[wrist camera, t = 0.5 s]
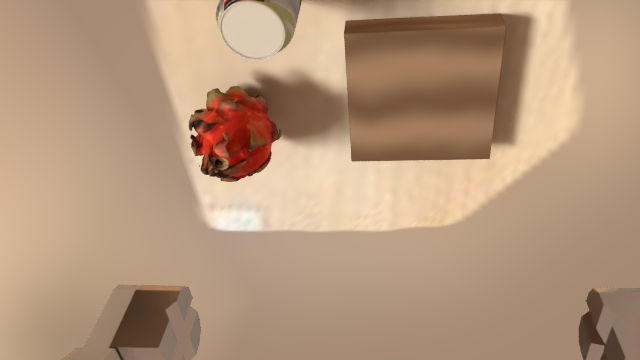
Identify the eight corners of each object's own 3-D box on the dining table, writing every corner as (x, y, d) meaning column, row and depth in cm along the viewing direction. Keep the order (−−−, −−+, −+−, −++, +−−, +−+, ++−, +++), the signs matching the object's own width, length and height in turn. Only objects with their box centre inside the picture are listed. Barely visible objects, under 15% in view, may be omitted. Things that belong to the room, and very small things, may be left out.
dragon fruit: (277, 62, 55) (255, 127, 46) (295, 134, 60) (279, 205, 51) (196, 74, 57) (159, 139, 47) (221, 143, 62) (192, 214, 52)
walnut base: (346, 18, 52) (344, 33, 50) (499, 11, 51) (506, 26, 48) (352, 142, 61) (351, 161, 58) (484, 139, 59) (489, 158, 56)
